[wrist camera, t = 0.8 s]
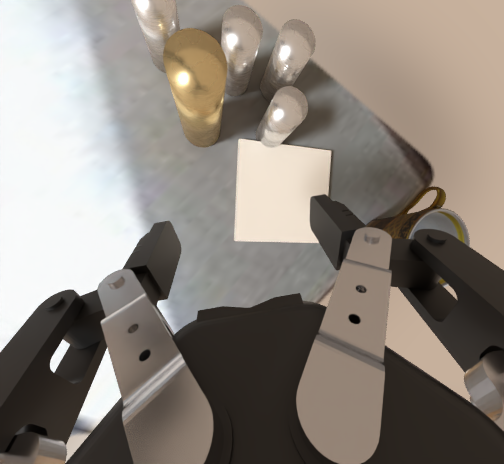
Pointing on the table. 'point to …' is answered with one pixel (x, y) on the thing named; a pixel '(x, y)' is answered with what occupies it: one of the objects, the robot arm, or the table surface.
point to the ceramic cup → (424, 221)
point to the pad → (278, 191)
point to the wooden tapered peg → (197, 83)
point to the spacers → (245, 60)
